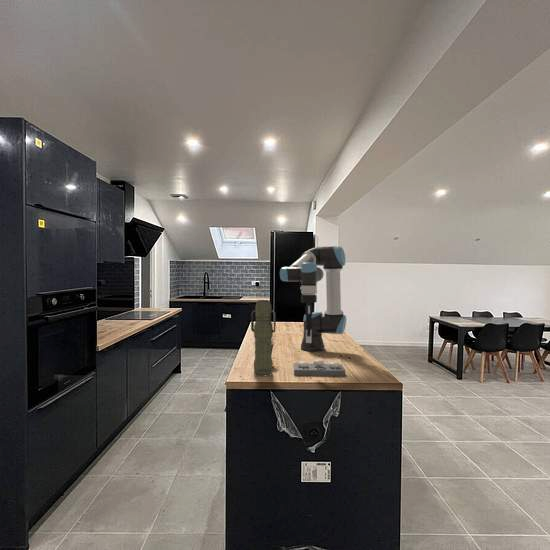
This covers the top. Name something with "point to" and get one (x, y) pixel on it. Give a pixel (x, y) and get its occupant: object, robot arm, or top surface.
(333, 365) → the button one dot
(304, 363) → the button two dots
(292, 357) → the top surface
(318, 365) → the button three dots
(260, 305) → the thermos
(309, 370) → the button panel
